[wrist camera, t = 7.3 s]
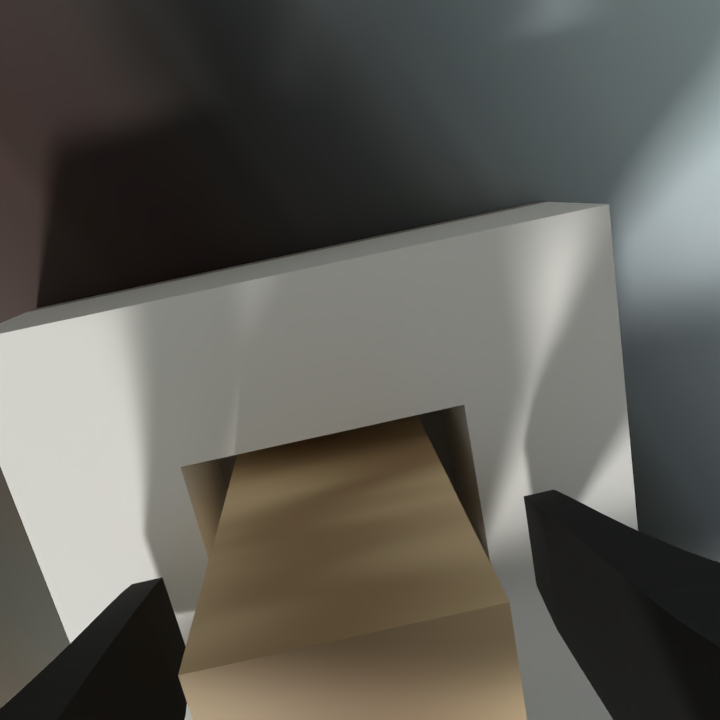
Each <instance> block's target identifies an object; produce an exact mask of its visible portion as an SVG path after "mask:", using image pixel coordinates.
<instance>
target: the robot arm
mask: <svg viewBox="0 0 720 720" xmlns="http://www.w3.org/2000/svg"><path fill="white" fill-rule="evenodd" d="M524 502H525V509H526V516H527V523H528V530H529V537H530V544H531V551H532V558H533V565H534V572H535V579H536V585H537V587H538V590H539V592H540V594H541V596H542V599H543V601H544V603H545V605H546V607H547V610H548V612H549V614H550V616H551V618H552V620H553V622H554V624H555V626H556V628H557V630H558V632H559V634H560V635H561V637H562V639H563V640H564V642H565V644H566V645H567V647H568V648H569V650H570V652H571V653H572V655H573V656H574V658H575V660H576V661H577V663H578V665H579V666H580V668H581V669H582V671H583V672H584V674H585V676H586V677H587V679H588V680H589V682H590V684H591V685H592V687H593V688H594V690H595V692H596V693H597V695H598V696H599V698H600V699H601V701H602V703H603V704H604V706H605V707H606V709H607V711H608V712H609V714H610V715H611V717H612V719H613V720H720V563H718V562H715V561H712V560H709V559H706V558H703V557H701V556H698V555H695V554H692V553H690V552H687V551H684V550H682V549H680V548H677V547H675V546H672V545H670V544H667V543H665V542H663V541H660V540H658V539H655V538H653V537H651V536H648V535H646V534H644V533H642V532H640V531H637V530H635V529H633V528H631V527H629V526H627V525H625V524H623V523H620V522H618V521H616V520H614V519H612V518H610V517H608V516H606V515H604V514H602V513H600V512H598V511H596V510H594V509H592V508H590V507H588V506H587V505H585V504H583V503H581V502H579V501H577V500H575V499H573V498H571V497H569V496H567V495H565V494H563V493H561V492H558V491H556V490H549V491H545V492H540V493H536V494H532V495H527V496H524ZM185 648H186V646H185V643H184V640H183V637H182V634H181V631H180V628H179V625H178V622H177V619H176V616H175V613H174V610H173V607H172V604H171V601H170V598H169V595H168V592H167V589H166V586H165V583H164V580H163V577H161V578H157V579H152V580H148V581H144V582H139V583H135V584H131V585H130V586H129V587H128V588H127V589H125V590H124V591H123V592H122V593H121V594H120V595H119V596H118V597H117V598H116V599H115V600H113V601H112V602H111V603H110V604H109V605H108V606H107V607H106V608H105V609H104V610H103V611H102V612H101V613H100V614H99V615H98V616H97V617H96V618H95V619H94V620H93V621H92V622H91V623H90V624H89V625H88V626H87V627H86V628H85V629H84V630H83V631H82V632H81V633H80V634H79V635H78V636H77V637H76V638H75V639H74V640H73V641H72V642H71V643H70V644H69V645H68V646H67V647H66V648H65V649H64V650H63V651H62V652H61V653H60V654H59V655H58V656H57V657H56V658H55V659H54V660H53V661H52V662H51V663H50V664H49V665H48V666H47V667H46V668H45V669H44V670H42V671H41V672H40V673H39V674H38V675H37V676H36V677H35V678H34V679H33V680H32V681H31V682H30V683H28V684H27V685H26V686H25V687H24V688H23V689H22V690H21V691H20V692H19V693H18V694H17V695H16V696H14V697H13V698H12V699H11V700H10V701H9V702H8V703H7V704H5V705H4V706H3V707H2V708H1V709H0V720H185V715H186V707H187V701H186V698H185V695H184V692H183V689H182V686H181V683H180V680H179V677H178V674H179V670H180V666H181V662H182V659H183V655H184V651H185Z"/></svg>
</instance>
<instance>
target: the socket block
mask: <svg viewBox="0 0 720 720" xmlns="http://www.w3.org/2000/svg"><path fill="white" fill-rule="evenodd" d="M415 415H418V417H419V419H420V421H421V424H422V426H423V428H424V430H425V432H426V434H427V436H428V438H429V440H430V442H431V444H432V446H433V448H434V450H435V452H436V454H437V456H438V458H439V460H440V462H441V464H442V466H443V468H444V470H445V472H446V474H447V476H448V478H449V480H450V482H451V484H452V486H453V488H454V490H455V492H456V494H457V497H458V499H459V501H460V503H461V505H462V507H463V509H464V511H465V513H466V515H467V517H468V519H469V521H470V523H471V525H472V527H473V529H474V531H475V533H476V535H477V537H478V539H479V541H480V543H481V545H482V547H483V549H484V551H485V553H486V555H487V557H488V559H489V561H490V563H491V565H492V567H493V570H494V572H495V574H496V576H497V578H498V580H499V582H500V584H501V586H502V588H503V590H504V592H505V594H506V596H507V598H508V600H509V602H510V608H511V615H512V622H513V628H514V635H515V642H516V649H517V655H518V662H519V669H520V675H521V682H522V689H523V696H524V702H525V709H526V716H527V720H613V719H612V717H611V715H610V714H609V712H608V711H607V709H606V707H605V706H604V704H603V703H602V701H601V699H600V698H599V696H598V695H597V693H596V692H595V690H594V688H593V687H592V685H591V684H590V682H589V680H588V679H587V677H586V676H585V674H584V672H583V671H582V669H581V668H580V666H579V665H578V663H577V661H576V660H575V658H574V656H573V655H572V653H571V652H570V650H569V648H568V647H567V645H566V644H565V642H564V640H563V639H562V637H561V635H560V634H559V632H558V630H557V628H556V626H555V624H554V622H553V620H552V618H551V616H550V614H549V612H548V610H547V607H546V605H545V603H544V601H543V599H542V596H541V594H540V592H539V590H538V587H537V585H536V579H535V572H534V565H533V558H532V551H531V544H530V537H529V530H528V523H527V516H526V509H525V502H524V496H527V495H532V494H536V493H540V492H545V491H549V490H556V491H558V492H561V493H563V494H565V495H567V496H569V497H571V498H573V499H575V500H577V501H579V502H581V503H583V504H585V505H587V506H588V507H590V508H592V509H594V510H596V511H598V512H600V513H602V514H604V515H606V516H608V517H610V518H612V519H614V520H616V521H618V522H620V523H623V524H625V525H627V526H629V527H631V528H633V529H635V530H637V531H638V526H637V514H636V503H635V492H634V480H633V469H632V458H631V447H630V435H629V424H628V413H627V401H626V390H625V379H624V368H623V356H622V345H621V334H620V322H619V311H618V300H617V288H616V277H615V266H614V255H613V243H612V232H611V221H610V209H609V204H592V203H566V202H535V203H530V204H526V205H521V206H516V207H511V208H507V209H502V210H497V211H493V212H488V213H483V214H478V215H474V216H469V217H464V218H460V219H455V220H450V221H445V222H441V223H436V224H431V225H427V226H422V227H417V228H412V229H408V230H403V231H398V232H394V233H389V234H384V235H379V236H375V237H370V238H365V239H361V240H356V241H351V242H346V243H342V244H337V245H332V246H327V247H323V248H318V249H313V250H309V251H304V252H299V253H294V254H290V255H285V256H280V257H276V258H271V259H266V260H261V261H257V262H252V263H247V264H243V265H238V266H233V267H228V268H224V269H219V270H214V271H210V272H205V273H200V274H195V275H191V276H186V277H181V278H177V279H172V280H167V281H162V282H158V283H153V284H148V285H144V286H139V287H134V288H129V289H125V290H120V291H115V292H111V293H106V294H101V295H96V296H92V297H87V298H82V299H78V300H73V301H68V302H63V303H59V304H54V305H49V306H45V307H40V308H35V309H33V310H31V311H28V312H26V313H24V314H21V315H19V316H17V317H14V318H12V319H9V320H7V321H5V322H2V323H0V467H1V469H2V472H3V474H4V477H5V479H6V482H7V484H8V487H9V489H10V492H11V494H12V497H13V499H14V502H15V505H16V507H17V510H18V512H19V515H20V517H21V520H22V522H23V525H24V527H25V530H26V532H27V535H28V538H29V540H30V543H31V545H32V548H33V550H34V553H35V555H36V558H37V560H38V563H39V565H40V568H41V570H42V573H43V576H44V578H45V581H46V583H47V586H48V588H49V591H50V593H51V596H52V598H53V601H54V603H55V606H56V608H57V611H58V614H59V616H60V619H61V621H62V624H63V626H64V629H65V631H66V634H67V636H68V639H69V641H70V643H71V642H72V641H73V640H74V639H75V638H76V637H77V636H78V635H79V634H80V633H81V632H82V631H83V630H84V629H85V628H86V627H87V626H88V625H89V624H90V623H91V622H92V621H93V620H94V619H95V618H96V617H97V616H98V615H99V614H100V613H101V612H102V611H103V610H104V609H105V608H106V607H107V606H108V605H109V604H110V603H111V602H112V601H113V600H115V599H116V598H117V597H118V596H119V595H120V594H121V593H122V592H123V591H124V590H125V589H127V588H128V587H129V586H130V585H131V584H135V583H139V582H144V581H148V580H152V579H157V578H161V577H163V580H164V583H165V586H166V589H167V592H168V595H169V598H170V601H171V604H172V607H173V610H174V613H175V616H176V619H177V622H178V625H179V628H180V631H181V634H182V637H183V640H184V643H185V646H186V644H187V640H188V636H189V633H190V629H191V625H192V621H193V618H194V614H195V610H196V607H197V603H198V599H199V595H200V592H201V588H202V584H203V580H204V577H205V573H206V569H207V566H208V562H209V558H210V554H211V551H212V547H213V543H214V539H215V536H216V532H217V528H218V525H219V521H220V517H221V513H222V510H223V506H224V502H225V498H226V495H227V491H228V487H229V484H230V480H231V476H232V472H233V469H234V465H235V461H236V457H237V454H242V453H247V452H251V451H256V450H260V449H265V448H269V447H274V446H278V445H283V444H287V443H292V442H297V441H301V440H306V439H310V438H315V437H319V436H324V435H328V434H333V433H338V432H342V431H347V430H351V429H356V428H360V427H365V426H369V425H374V424H378V423H383V422H388V421H392V420H397V419H401V418H406V417H410V416H415ZM185 720H193V719H192V716H191V713H190V710H189V707H188V704H187V707H186V715H185Z"/></svg>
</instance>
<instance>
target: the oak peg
mask: <svg viewBox="0 0 720 720" xmlns="http://www.w3.org/2000/svg"><path fill="white" fill-rule="evenodd" d="M178 677H179V680H180V683H181V686H182V689H183V692H184V695H185V698H186V701H187V704H188V707H189V710H190V713H191V716H192V719H193V720H527V716H526V709H525V702H524V696H523V689H522V682H521V675H520V669H519V662H518V655H517V649H516V642H515V635H514V628H513V622H512V615H511V608H510V602H509V600H508V598H507V596H506V594H505V592H504V590H503V588H502V586H501V584H500V582H499V580H498V578H497V576H496V574H495V572H494V570H493V567H492V565H491V563H490V561H489V559H488V557H487V555H486V553H485V551H484V549H483V547H482V545H481V543H480V541H479V539H478V537H477V535H476V533H475V531H474V529H473V527H472V525H471V523H470V521H469V519H468V517H467V515H466V513H465V511H464V509H463V507H462V505H461V503H460V501H459V499H458V497H457V494H456V492H455V490H454V488H453V486H452V484H451V482H450V480H449V478H448V476H447V474H446V472H445V470H444V468H443V466H442V464H441V462H440V460H439V458H438V456H437V454H436V452H435V450H434V448H433V446H432V444H431V442H430V440H429V438H428V436H427V434H426V432H425V430H424V428H423V426H422V424H421V421H420V419H419V417H418V415H415V416H410V417H406V418H401V419H397V420H392V421H388V422H383V423H378V424H374V425H369V426H365V427H360V428H356V429H351V430H347V431H342V432H338V433H333V434H328V435H324V436H319V437H315V438H310V439H306V440H301V441H297V442H292V443H287V444H283V445H278V446H274V447H269V448H265V449H260V450H256V451H251V452H247V453H242V454H237V457H236V461H235V465H234V469H233V472H232V476H231V480H230V484H229V487H228V491H227V495H226V498H225V502H224V506H223V510H222V513H221V517H220V521H219V525H218V528H217V532H216V536H215V539H214V543H213V547H212V551H211V554H210V558H209V562H208V566H207V569H206V573H205V577H204V580H203V584H202V588H201V592H200V595H199V599H198V603H197V607H196V610H195V614H194V618H193V621H192V625H191V629H190V633H189V636H188V640H187V644H186V648H185V651H184V655H183V659H182V662H181V666H180V670H179V674H178Z"/></svg>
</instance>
